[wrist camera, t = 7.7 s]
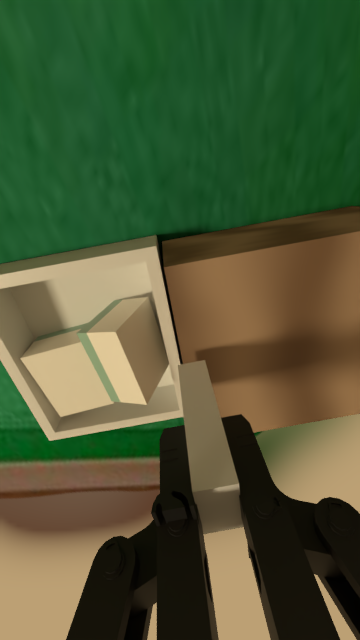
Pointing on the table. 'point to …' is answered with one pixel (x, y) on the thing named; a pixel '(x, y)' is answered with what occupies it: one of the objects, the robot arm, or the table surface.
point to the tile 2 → (126, 350)
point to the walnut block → (273, 315)
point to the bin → (79, 308)
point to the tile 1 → (65, 372)
